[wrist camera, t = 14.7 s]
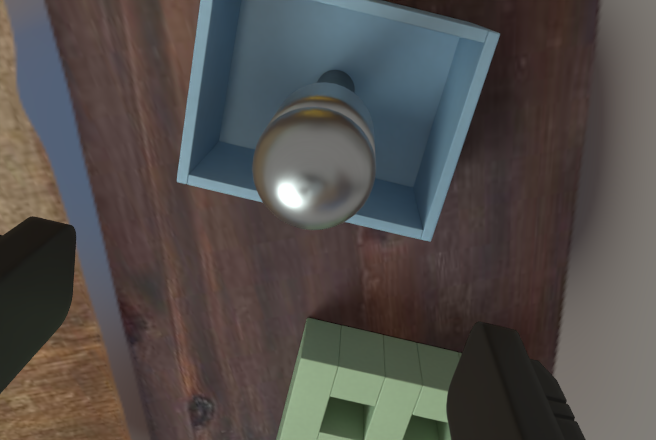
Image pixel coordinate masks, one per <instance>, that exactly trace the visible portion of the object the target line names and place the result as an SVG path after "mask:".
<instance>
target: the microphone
mask: <svg viewBox="0 0 656 440" xmlns="http://www.w3.org/2000/svg"><path fill="white" fill-rule="evenodd" d="M354 92H355V88H354V83H353V81H352V79H351V77H350V76H349V75H348V74H346V73H345V72H343V71H340V70H330V71H327V72H325V73H324V74H323V75H322V76H321V77H320V78H319V79H318V81H317V83H313V84H310V85H306V86H304V87H302V88H300V89H298V90H296V91H295V92H293V93H292V94H291V95H290V96H288V98H287V99H286V100H285V101H284V102H283V103H282V105H281V106H280V108H279V109H278V111H277V112H276V114H275V115H274V117H273V118H272V120H271V121H270V123H269V124H268V126H267V127H266V129H265V130H264V132H263V133H262V135H261V137H260V138H259V140H258V142H257V145H256V148H255V152H254V156H253V164H252V173H253V181H254V184H255V187H256V190H257V192H258V195H259V196H260V198H261V200H262V202H263V203H264V205H265V206H266V207H267V208H268V210H269V211H270V212H271V213H272V214H273V215H275V216H276V217H277V218H278V219H280V220H281V221H283V222H285V223H287V224H289V225H291V226H294V227H297V228H301V229H308V230H323V229H327V228H331V227H335V226H337V225H339V224H341V223H344V222H345V221H347V220H348V219H349V218H351V217H352V216H354V215H355V214H356V213H357V212H358V211H359V210H360V209H361V208H362V207H363V205H364V204H365V202H366V201H367V199H368V198H369V196H370V193H371V191H372V188H373V185H374V181H375V176H376V157H375V142H374V128H373V122H372V118H371V116H370V113H369V111H368V109H367V107H366V106H365V104H364V103H363V102H362V100H361V99H360V98H359V97H358V96H357V95H356V94H355V93H354Z"/></svg>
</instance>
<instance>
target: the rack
mask: <svg viewBox="0 0 656 440" xmlns="http://www.w3.org/2000/svg"><path fill="white" fill-rule="evenodd" d="M461 355H462V353H459V352H455V351H451V350H446V349H442V348H438V347H433V346H429V345H425V344H420V343H417V344H416V342H412V341H407V340H403V339H398V338H394V337H390V336H385V335H382V334H377V333H373V332H369V331H364V330H360V329H356V328H351V327H347V326H341V325H338V324H333V323H329V322H325V321H320V320H316V319H311V318H307V321H306V325H305V329H304V333H303V337H302V341H301V344H300V348H299V352H298V356H297V360H296V364H295V368H294V372H293V376H292V380H291V384H290V388H289V392H288V395H287V399H286V403H285V407H284V411H283V415H282V419H281V423H280V427H279V431H278V435H277V439H276V440H451V436H450V430H449V425H448V420H447V414H446V403H447V395H448V390H449V386H450V383H451V380H452V378H453V375H454V373H455V370H456V367H457V365H458V362H459V360H460V357H461Z"/></svg>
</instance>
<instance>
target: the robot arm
mask: <svg viewBox="0 0 656 440" xmlns="http://www.w3.org/2000/svg"><path fill="white" fill-rule="evenodd" d="M75 249H76V232H75V229H74V227H73V226H72V225H68V224H64V223H60V222H56V221H51V220H47V219H43V218H38V217H33V216H32V217H29V218H27V219H26V220H25V221H23V222H22V223H20V224H19V225H17V226H16V227H14V228H13V229H12V230H10V231H9V232H7V233H6V234H4V235H0V393H1V392H2V391H3V390H4V389H5V388H6V387H7V385H8V384H9V383H10V382H11V381H12V380H13V379H14V378H15V376H16V375H17V374H18V373H19V372H20V371H21V370H22V369H23V367H24V366H25V365H26V364H27V363H28V362H29V361H30V360H31V359H32V357H33V356H34V355H35V354H36V353H37V352H38V351H39V350H40V348H41V347H42V346H43V345H44V344H45V343H46V342H47V341H48V339H49V338H50V337H51V336H52V335H53V334H54V333H55V332H56V330H57V329H58V328H59V327H60V326H61V325H62V323H63V321H64V320H65V318H66V316H67V314H68V311H69V308H70V305H71V301H72V295H73V281H74V265H75ZM446 414H447V420H448V425H449V430H450V436H451V440H585V438H584V436H583V434H582V432H581V429H580V428H579V425H578V423H577V422H576V421H574V418H575V417H574V415H573V413H572V411H571V409H570V407H569V405H568V404H566V398H565V396H564V394H563V392H562V390H561V388H560V386H559V384H558V382H557V380H556V379H555V378H554V377H553V376H552V375H551V374H550V373H549V372H548V371H547V370H546V368H545V367H544V366H543V365H542V364H541V363H540V362H539V361H537V360H532V359H529V357H528V354H527V352H526V350H525V347H524V345H523V343H522V340H521V338H520V336H519V334H518V332H517V331H516V330H513V329H509V328H505V327H501V326H496V325H492V324H488V323H483V322H477V323H476V324H475V325H474V326H473V328H472V330H471V332H470V334H469V337H468V339H467V342H466V345H465V347H464V350H463V352H462V355H461V357H460V360H459V362H458V365H457V367H456V370H455V373H454V375H453V378H452V380H451V383H450V386H449V390H448V395H447V403H446Z"/></svg>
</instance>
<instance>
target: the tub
mask: <svg viewBox="0 0 656 440" xmlns="http://www.w3.org/2000/svg"><path fill="white" fill-rule="evenodd" d="M499 37H500V33H498V32H495V31H492V30H490V29H487V28H484V27H482V26H479V25H476V24H474V23H471V22H467V21H463V20H459V19H455V18H451V17H447V16H443V15H439V14H435V13H431V12H427V11H423V10H419V9H415V8H411V7H407V6H403V5H399V4H395V3H391V2H387V1H383V0H201V1H200V9H199V17H198V24H197V32H196V39H195V47H194V54H193V62H192V69H191V77H190V84H189V92H188V99H187V107H186V114H185V122H184V129H183V137H182V144H181V152H180V160H179V167H178V175H177V182H180V183H184V184H188V185H192V186H196V187H200V188H204V189H209V190H213V191H217V192H221V193H226V194H230V195H234V196H238V197H243V198H247V199H251V200H255V201H259V202H262V200H261V198H260V196H259V195H258V192H257V190H256V187H255V184H254V181H253V173H252V164H253V156H254V152H255V148H256V145H257V142H258V140H259V138H260V137H261V135H262V133H263V132H264V130H265V129H266V127H267V126H268V124H269V123H270V121H271V120H272V118H273V117H274V115H275V114H276V112H277V111H278V109H279V108H280V106H281V105H282V103H283V102H284V101H285V100H286V99H287V98H288V96H290V95H291V94H292V93H293V92H295V91H296V90H298V89H300V88H302V87H304V86H306V85H310V84H313V83H317V81H318V79H319V78H320V77H321V76H322V75H323V74H324V73H325V72H327V71H330V70H340V71H343V72H345V73H346V74H348V75H349V76H350V77H351V79H352V81H353V83H354V88H355V92H354V93H355V94H356V95H357V96H358V97H359V98H360V99H361V100H362V102H363V103H364V104H365V106H366V107H367V109H368V111H369V113H370V116H371V118H372V122H373V128H374V142H375V157H376V176H375V181H374V185H373V188H372V191H371V193H370V196H369V198H368V199H367V201H366V202H365V204H364V205H363V207H362V208H361V209H360V210H359V211H358V212H357V213H356V214H355V215H354V216H352V217H351V218H349V219H348V220H347V221H345V222H348V223H353V224H357V225H361V226H365V227H370V228H374V229H378V230H382V231H386V232H391V233H395V234H399V235H403V236H408V237H412V238H416V239H421V240H425V241H431V240H432V237H433V234H434V231H435V228H436V225H437V222H438V219H439V216H440V213H441V210H442V207H443V204H444V201H445V198H446V195H447V192H448V189H449V186H450V183H451V180H452V177H453V174H454V171H455V168H456V165H457V162H458V159H459V156H460V153H461V150H462V147H463V144H464V141H465V138H466V135H467V132H468V129H469V126H470V123H471V120H472V117H473V114H474V111H475V108H476V105H477V102H478V99H479V96H480V93H481V90H482V87H483V84H484V81H485V78H486V75H487V72H488V69H489V66H490V64H491V61H492V58H493V55H494V52H495V49H496V46H497V43H498V40H499Z"/></svg>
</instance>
